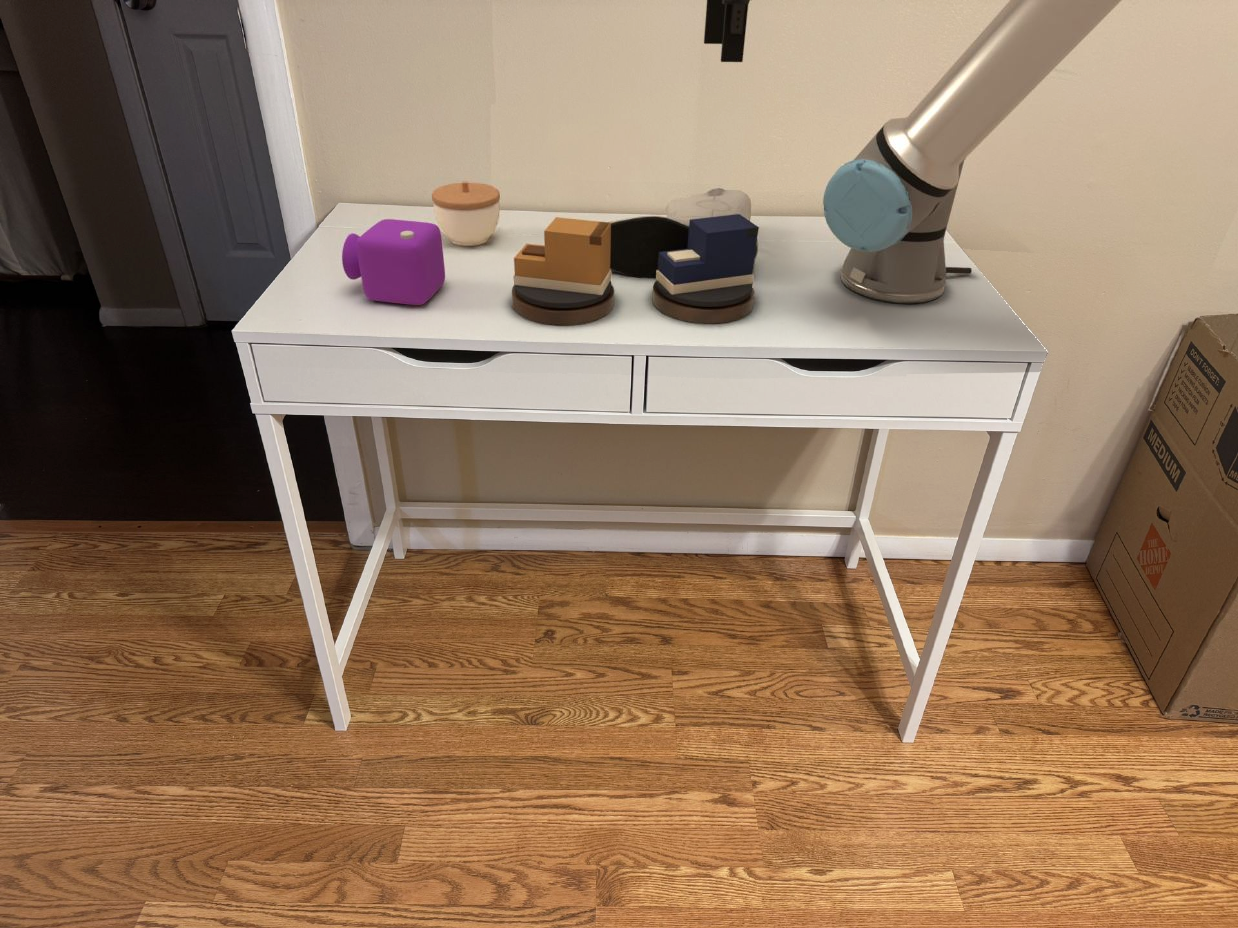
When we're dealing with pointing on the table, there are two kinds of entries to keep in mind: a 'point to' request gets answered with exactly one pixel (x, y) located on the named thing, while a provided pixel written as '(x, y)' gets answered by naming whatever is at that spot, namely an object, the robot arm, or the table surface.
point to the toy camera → (396, 261)
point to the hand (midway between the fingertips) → (722, 52)
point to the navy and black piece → (711, 263)
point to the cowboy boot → (668, 230)
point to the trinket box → (467, 212)
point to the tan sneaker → (566, 265)
